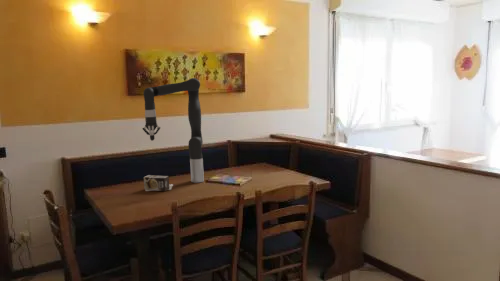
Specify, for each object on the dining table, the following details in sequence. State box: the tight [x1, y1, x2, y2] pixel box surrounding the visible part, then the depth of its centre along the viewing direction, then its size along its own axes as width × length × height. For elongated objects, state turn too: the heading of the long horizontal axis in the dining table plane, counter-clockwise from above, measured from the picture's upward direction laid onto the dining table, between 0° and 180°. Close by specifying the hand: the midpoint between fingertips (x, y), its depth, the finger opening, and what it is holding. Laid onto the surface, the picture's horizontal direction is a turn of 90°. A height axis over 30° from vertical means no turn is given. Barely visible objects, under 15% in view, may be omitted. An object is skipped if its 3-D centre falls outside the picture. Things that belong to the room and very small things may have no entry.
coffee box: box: [143, 174, 170, 192], centre depth 267 cm, size 9×6×16 cm
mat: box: [145, 183, 174, 192], centre depth 274 cm, size 17×13×1 cm
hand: (152, 140), depth 278 cm, fingers closed
